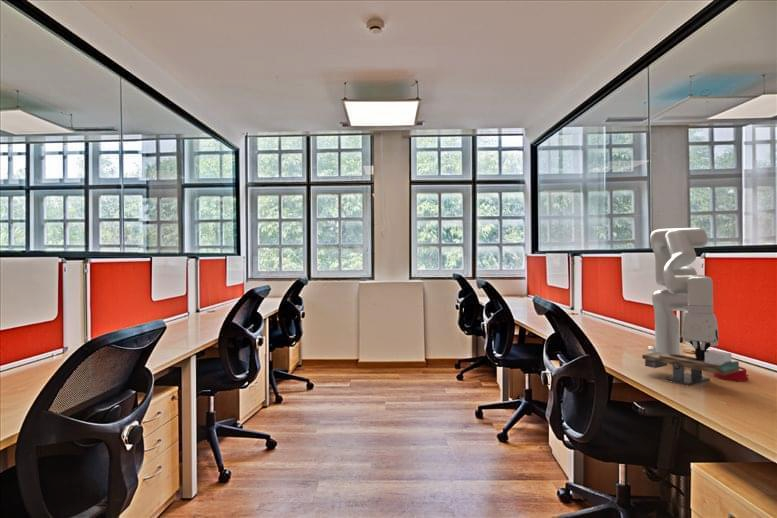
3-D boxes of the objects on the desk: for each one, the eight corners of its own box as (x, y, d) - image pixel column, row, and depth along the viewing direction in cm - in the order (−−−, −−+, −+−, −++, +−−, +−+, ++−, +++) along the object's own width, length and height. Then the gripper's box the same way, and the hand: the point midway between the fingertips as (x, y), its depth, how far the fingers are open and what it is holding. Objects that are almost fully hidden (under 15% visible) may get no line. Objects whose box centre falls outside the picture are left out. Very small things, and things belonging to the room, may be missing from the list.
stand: (665, 380, 159) (664, 362, 159) (687, 375, 166) (686, 357, 166) (688, 386, 152) (688, 367, 152) (710, 380, 159) (710, 361, 159)
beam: (642, 365, 169) (642, 349, 169) (656, 362, 173) (656, 347, 173) (724, 384, 144) (724, 365, 144) (738, 380, 149) (738, 361, 149)
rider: (704, 365, 151) (704, 351, 151) (712, 363, 154) (711, 350, 154) (724, 369, 146) (724, 355, 146) (731, 367, 148) (731, 353, 148)
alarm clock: (719, 371, 158) (707, 354, 171) (718, 386, 159) (706, 368, 173) (754, 374, 154) (739, 356, 167) (753, 389, 155) (738, 371, 168)
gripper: (672, 308, 160) (673, 357, 159) (718, 312, 146) (719, 365, 146) (683, 307, 163) (684, 354, 163) (729, 311, 150) (730, 362, 150)
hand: (700, 359), depth 155 cm, fingers closed
